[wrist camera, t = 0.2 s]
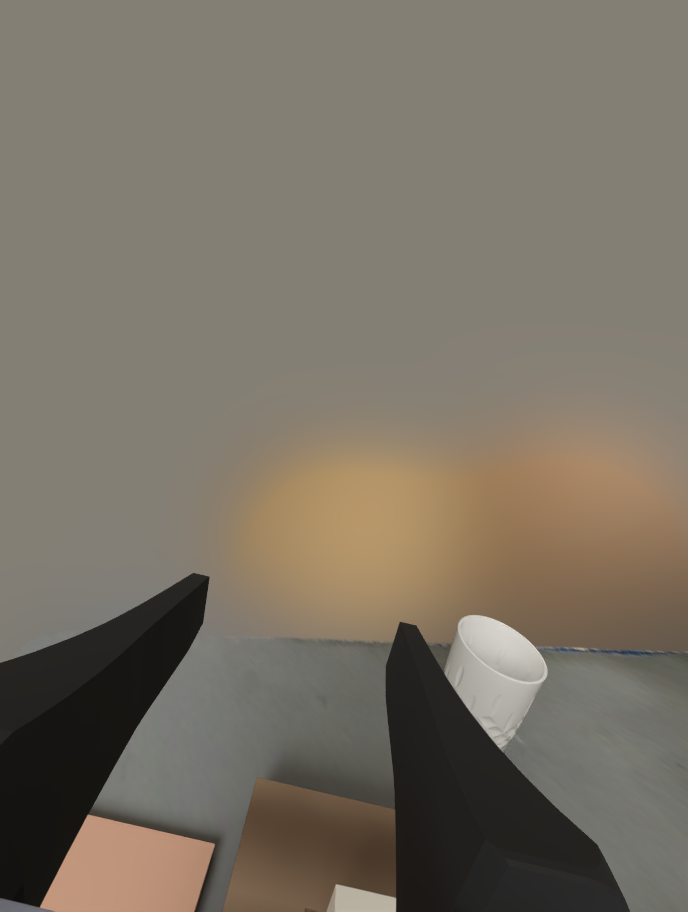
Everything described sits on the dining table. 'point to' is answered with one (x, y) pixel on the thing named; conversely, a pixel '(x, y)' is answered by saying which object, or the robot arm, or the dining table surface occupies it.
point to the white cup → (494, 674)
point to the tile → (129, 870)
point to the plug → (359, 901)
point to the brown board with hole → (309, 850)
